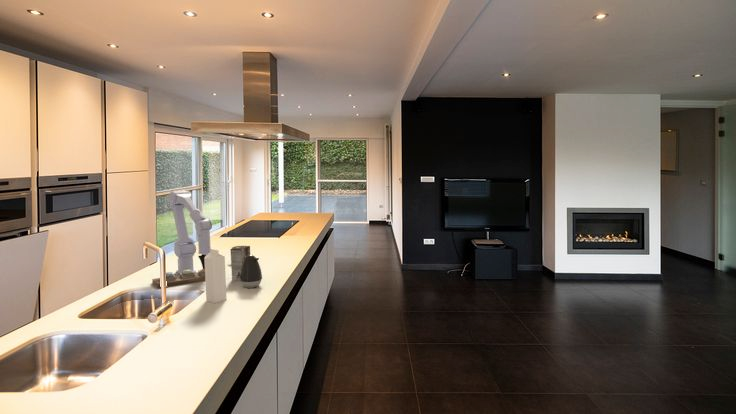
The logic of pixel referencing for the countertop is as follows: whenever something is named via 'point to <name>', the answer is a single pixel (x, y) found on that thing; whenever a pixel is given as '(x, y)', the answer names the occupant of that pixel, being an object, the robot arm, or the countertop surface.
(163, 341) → the countertop surface
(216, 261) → the milk
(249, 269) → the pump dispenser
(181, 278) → the button panel
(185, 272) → the sage button
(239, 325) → the countertop surface
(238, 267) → the coffee box
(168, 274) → the slate blue button
